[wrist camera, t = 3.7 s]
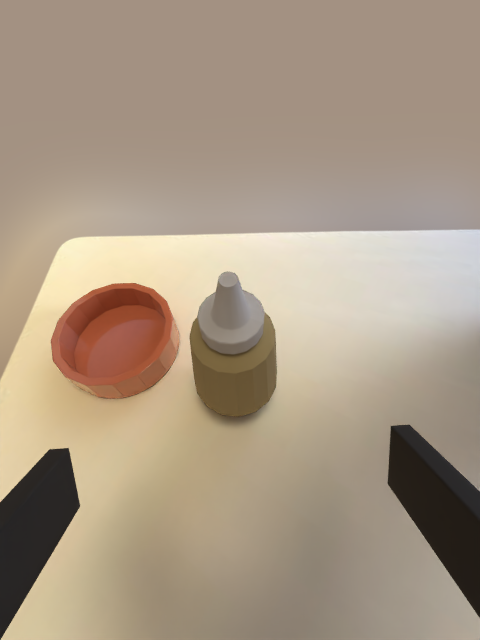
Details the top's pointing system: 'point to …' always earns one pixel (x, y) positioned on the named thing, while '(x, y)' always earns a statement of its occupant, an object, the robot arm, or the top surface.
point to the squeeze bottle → (233, 350)
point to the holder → (116, 340)
